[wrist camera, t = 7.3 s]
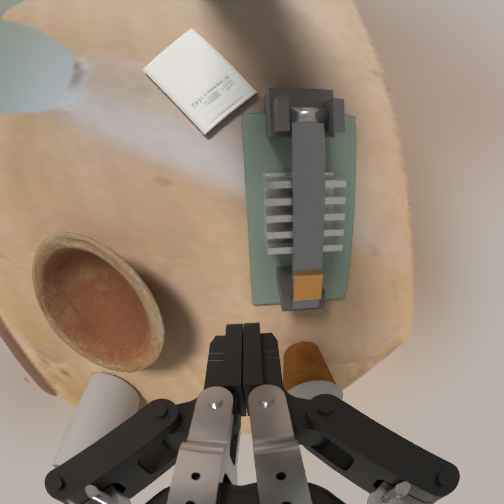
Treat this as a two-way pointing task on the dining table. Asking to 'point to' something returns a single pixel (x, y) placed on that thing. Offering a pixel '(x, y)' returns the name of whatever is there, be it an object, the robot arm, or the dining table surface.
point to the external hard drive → (199, 80)
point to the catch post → (290, 289)
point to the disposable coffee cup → (307, 372)
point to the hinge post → (294, 97)
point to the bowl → (97, 303)
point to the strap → (307, 203)
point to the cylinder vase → (97, 414)
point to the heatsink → (281, 212)
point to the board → (255, 160)
